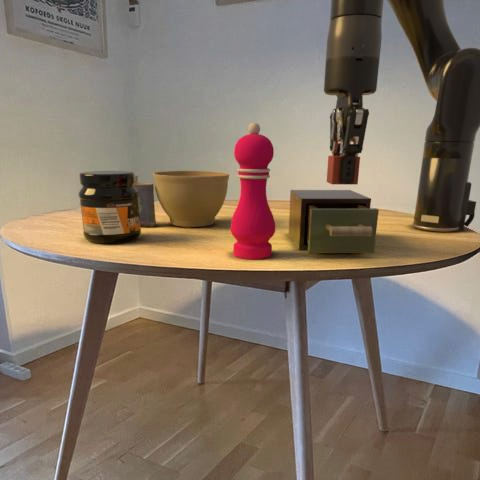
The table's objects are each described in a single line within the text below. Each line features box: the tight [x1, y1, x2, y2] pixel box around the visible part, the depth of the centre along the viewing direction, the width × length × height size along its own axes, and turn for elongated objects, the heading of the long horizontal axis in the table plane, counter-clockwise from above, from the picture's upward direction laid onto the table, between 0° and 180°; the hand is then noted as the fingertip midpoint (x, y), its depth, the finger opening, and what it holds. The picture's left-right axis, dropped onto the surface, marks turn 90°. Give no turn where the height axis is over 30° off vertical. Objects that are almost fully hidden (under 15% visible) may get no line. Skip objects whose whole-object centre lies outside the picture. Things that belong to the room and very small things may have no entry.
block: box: [326, 155, 361, 185], centre depth 72 cm, size 4×4×4 cm
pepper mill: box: [229, 122, 276, 260], centre depth 73 cm, size 7×7×20 cm
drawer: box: [304, 203, 380, 254], centre depth 76 cm, size 17×10×7 cm, turn 2°
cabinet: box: [288, 189, 372, 251], centre depth 85 cm, size 14×12×9 cm
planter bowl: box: [152, 170, 230, 228], centre depth 101 cm, size 16×16×11 cm
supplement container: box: [78, 170, 142, 245], centre depth 86 cm, size 10×10×12 cm
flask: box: [134, 173, 157, 228], centre depth 100 cm, size 9×3×11 cm, turn 61°
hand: (342, 181), depth 73 cm, fingers closed on block, 4 cm apart
